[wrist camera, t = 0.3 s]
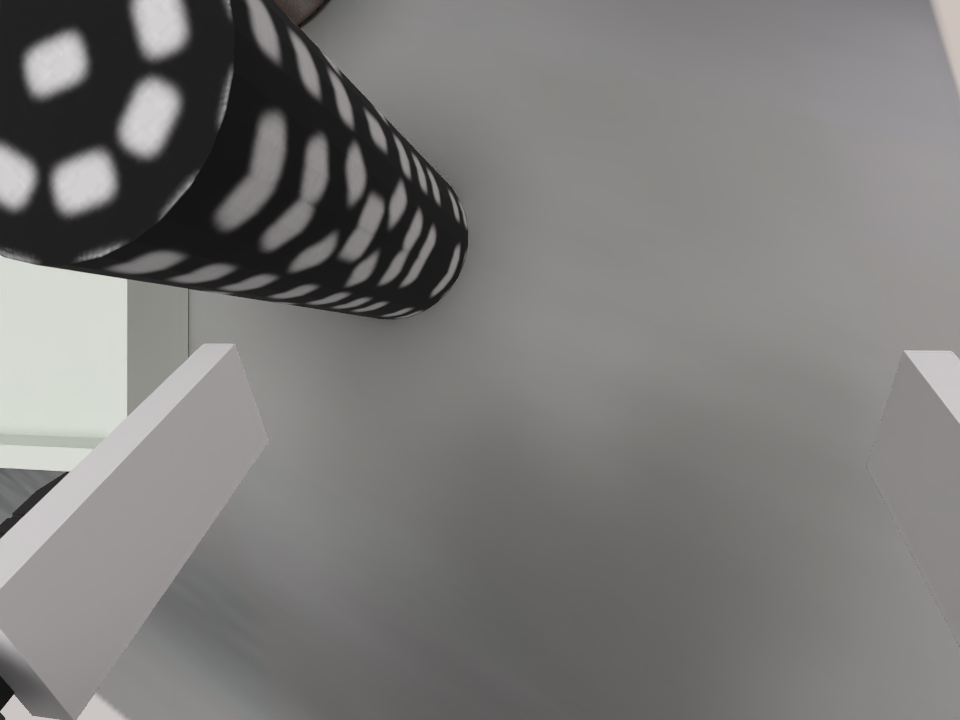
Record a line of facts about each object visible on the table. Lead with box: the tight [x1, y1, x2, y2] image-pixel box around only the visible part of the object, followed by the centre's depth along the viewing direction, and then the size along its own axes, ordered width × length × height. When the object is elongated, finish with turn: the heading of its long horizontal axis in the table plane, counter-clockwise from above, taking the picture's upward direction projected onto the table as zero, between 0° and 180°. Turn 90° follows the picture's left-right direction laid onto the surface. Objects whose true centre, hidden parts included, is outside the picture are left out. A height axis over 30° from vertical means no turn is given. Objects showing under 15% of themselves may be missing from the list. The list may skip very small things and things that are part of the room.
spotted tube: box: [0, 0, 468, 319], centre depth 23 cm, size 8×8×20 cm
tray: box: [0, 255, 188, 471], centre depth 35 cm, size 18×18×4 cm
